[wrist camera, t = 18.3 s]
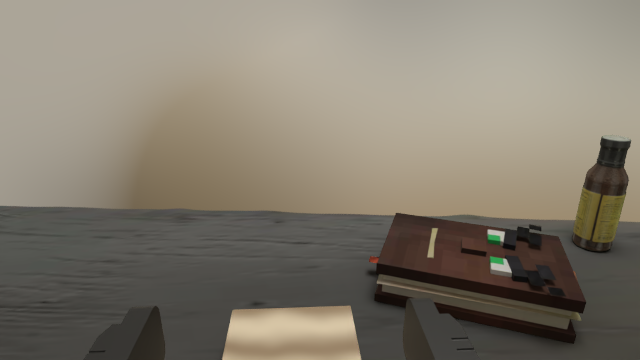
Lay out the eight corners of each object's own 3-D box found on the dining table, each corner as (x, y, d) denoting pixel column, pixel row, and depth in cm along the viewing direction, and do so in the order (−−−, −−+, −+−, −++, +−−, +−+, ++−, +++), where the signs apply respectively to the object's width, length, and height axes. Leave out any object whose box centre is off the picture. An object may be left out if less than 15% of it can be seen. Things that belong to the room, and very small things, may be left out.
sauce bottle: (613, 243, 74) (645, 137, 66) (607, 257, 69) (642, 145, 62) (573, 232, 77) (599, 130, 70) (565, 244, 73) (593, 137, 66)
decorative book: (384, 203, 72) (575, 230, 63) (381, 240, 75) (564, 271, 66) (358, 259, 55) (614, 307, 46) (356, 304, 58) (597, 358, 49)
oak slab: (234, 326, 49) (232, 309, 48) (349, 321, 49) (350, 305, 49) (216, 416, 37) (214, 397, 37) (366, 408, 38) (367, 390, 37)
